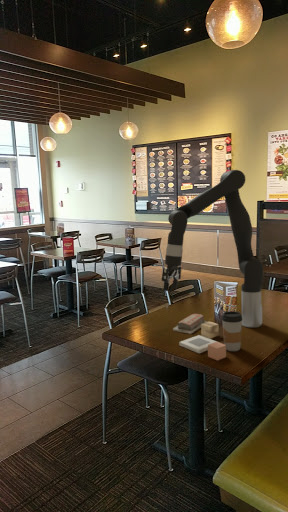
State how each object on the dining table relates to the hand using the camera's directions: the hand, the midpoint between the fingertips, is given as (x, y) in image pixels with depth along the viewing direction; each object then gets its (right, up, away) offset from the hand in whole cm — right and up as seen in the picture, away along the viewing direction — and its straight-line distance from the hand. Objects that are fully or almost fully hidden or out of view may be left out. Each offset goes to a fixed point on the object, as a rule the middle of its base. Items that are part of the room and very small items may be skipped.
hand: (170, 289), depth 173 cm
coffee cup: (+25, -23, -15) cm, 38 cm away
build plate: (+12, -23, -10) cm, 28 cm away
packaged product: (+11, -20, +14) cm, 27 cm away
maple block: (+18, -21, +1) cm, 28 cm away
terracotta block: (+17, -25, -23) cm, 38 cm away
